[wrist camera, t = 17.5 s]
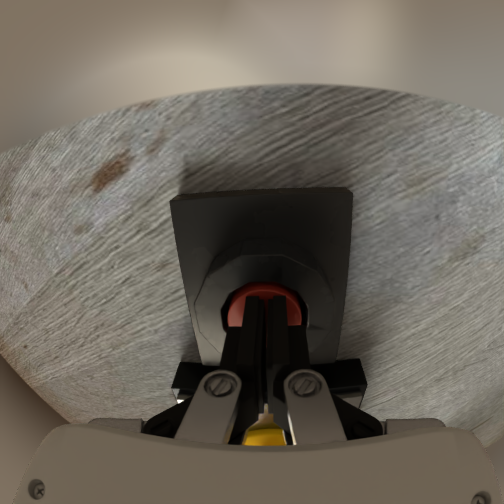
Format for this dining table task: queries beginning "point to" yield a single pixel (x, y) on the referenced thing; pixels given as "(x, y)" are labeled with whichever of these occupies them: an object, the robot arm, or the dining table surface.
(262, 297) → the button
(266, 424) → the scale
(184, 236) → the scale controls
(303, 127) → the dining table surface
